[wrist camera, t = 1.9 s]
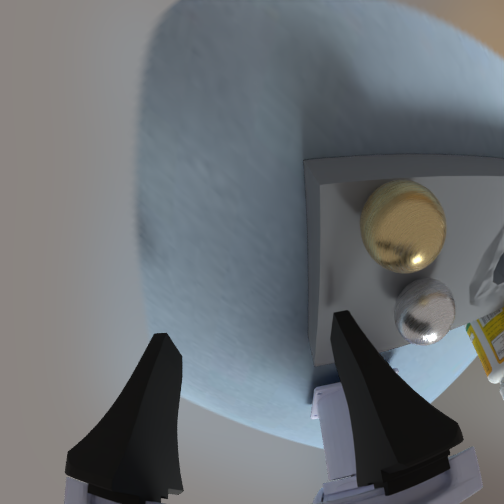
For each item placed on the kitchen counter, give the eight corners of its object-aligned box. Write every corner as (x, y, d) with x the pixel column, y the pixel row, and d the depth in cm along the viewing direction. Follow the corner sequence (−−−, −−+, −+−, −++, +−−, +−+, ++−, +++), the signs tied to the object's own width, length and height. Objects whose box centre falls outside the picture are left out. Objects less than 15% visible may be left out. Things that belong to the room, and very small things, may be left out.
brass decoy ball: (410, 233, 10) (448, 283, 7) (345, 242, 10) (373, 301, 8) (421, 164, 8) (474, 206, 6) (348, 168, 8) (391, 214, 6)
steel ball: (427, 302, 13) (450, 347, 10) (378, 314, 13) (399, 365, 10) (444, 259, 11) (477, 306, 8) (391, 269, 11) (421, 325, 8)
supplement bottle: (482, 290, 17) (529, 378, 9) (507, 287, 17) (549, 361, 10) (453, 330, 20) (487, 411, 13) (481, 323, 21) (514, 393, 13)
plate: (503, 282, 17) (516, 300, 15) (307, 335, 18) (314, 366, 16) (545, 164, 9) (566, 180, 7) (303, 160, 10) (319, 185, 8)
